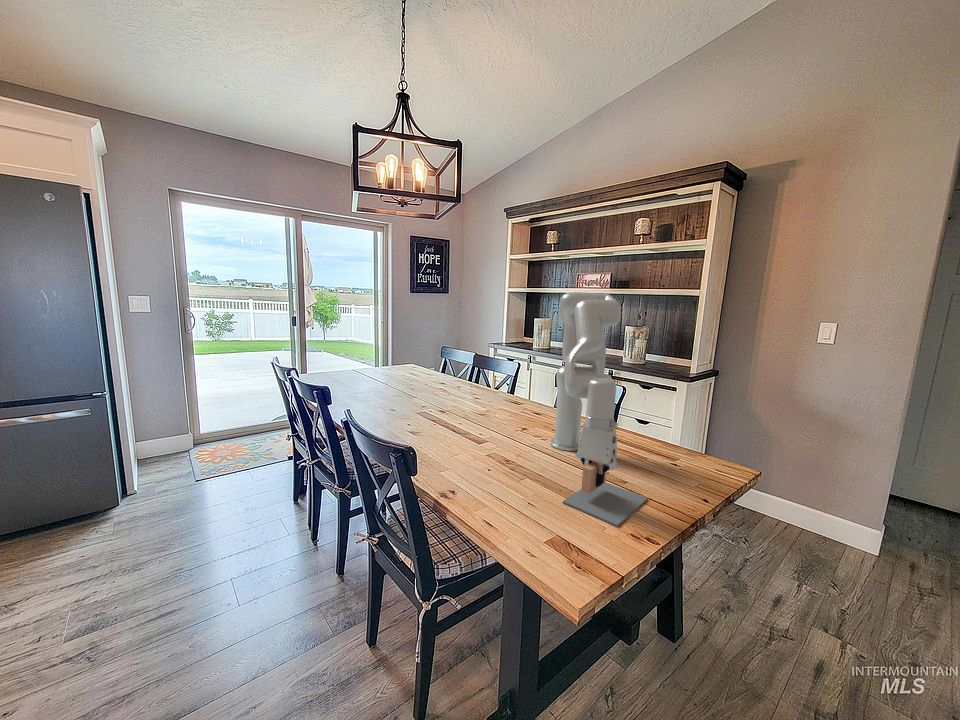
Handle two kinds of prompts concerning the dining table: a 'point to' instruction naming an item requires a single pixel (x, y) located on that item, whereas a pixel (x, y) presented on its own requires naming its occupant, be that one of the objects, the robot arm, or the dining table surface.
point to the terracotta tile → (590, 477)
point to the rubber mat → (607, 503)
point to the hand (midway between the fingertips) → (594, 482)
